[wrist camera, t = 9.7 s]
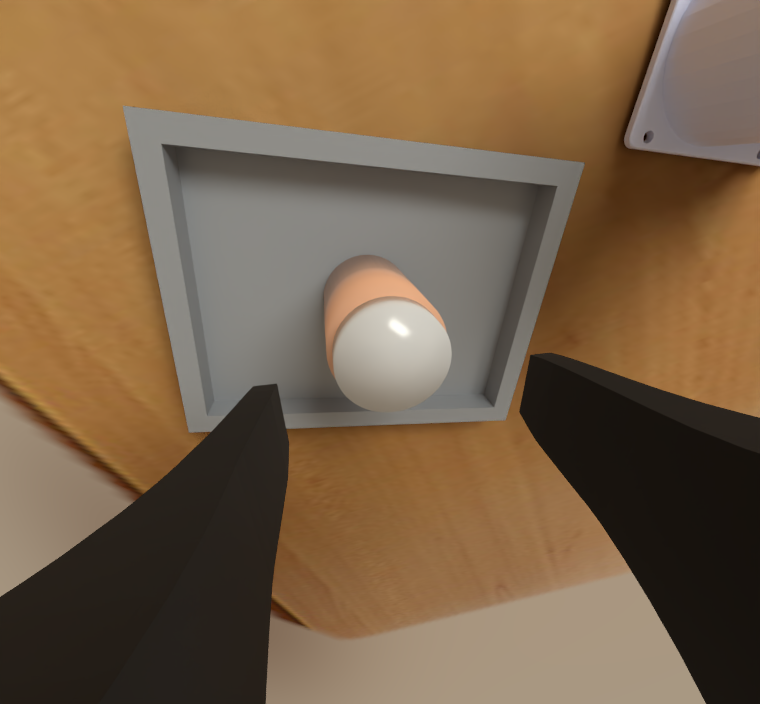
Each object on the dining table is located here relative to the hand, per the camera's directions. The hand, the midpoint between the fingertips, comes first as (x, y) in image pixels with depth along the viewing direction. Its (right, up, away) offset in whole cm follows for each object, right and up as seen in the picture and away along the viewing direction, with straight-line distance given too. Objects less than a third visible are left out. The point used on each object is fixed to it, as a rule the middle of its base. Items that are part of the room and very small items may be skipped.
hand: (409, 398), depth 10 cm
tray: (-2, +4, +8) cm, 10 cm away
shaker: (-2, +4, +8) cm, 9 cm away
